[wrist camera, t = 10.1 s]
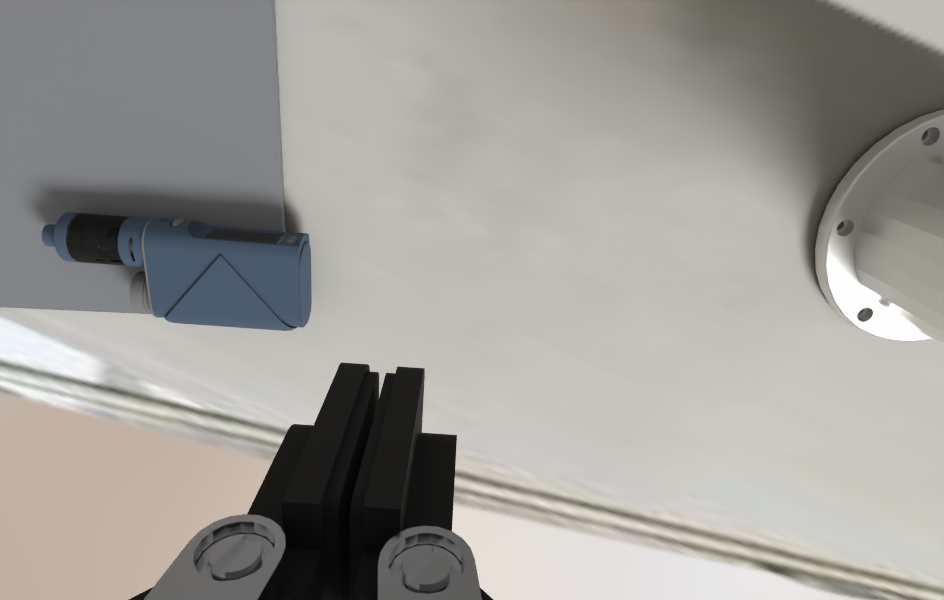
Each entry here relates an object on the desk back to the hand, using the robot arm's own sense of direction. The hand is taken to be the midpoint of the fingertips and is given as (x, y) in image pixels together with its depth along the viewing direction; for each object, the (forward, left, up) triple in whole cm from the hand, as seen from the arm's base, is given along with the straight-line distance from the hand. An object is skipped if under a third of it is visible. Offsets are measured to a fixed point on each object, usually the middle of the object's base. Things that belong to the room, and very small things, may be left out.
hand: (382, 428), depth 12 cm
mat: (+15, -1, -20) cm, 25 cm away
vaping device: (+5, +4, -18) cm, 19 cm away
